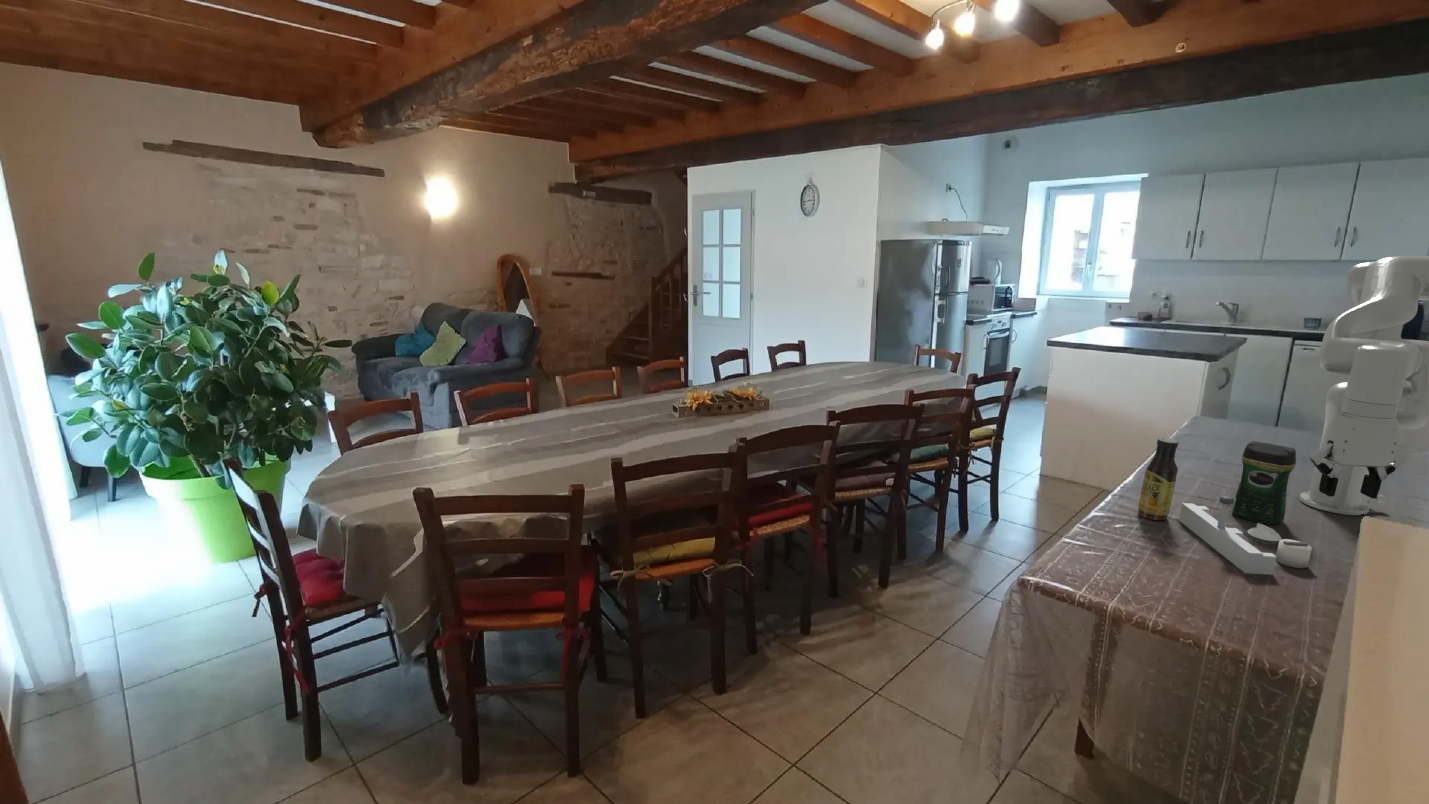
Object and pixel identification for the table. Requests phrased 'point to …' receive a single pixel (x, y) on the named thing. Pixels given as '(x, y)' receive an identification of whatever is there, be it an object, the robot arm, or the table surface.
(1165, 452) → the sauce bottle
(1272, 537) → the stove knob
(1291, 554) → the knob slider
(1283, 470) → the coffee jar
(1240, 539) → the mount
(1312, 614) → the table surface
